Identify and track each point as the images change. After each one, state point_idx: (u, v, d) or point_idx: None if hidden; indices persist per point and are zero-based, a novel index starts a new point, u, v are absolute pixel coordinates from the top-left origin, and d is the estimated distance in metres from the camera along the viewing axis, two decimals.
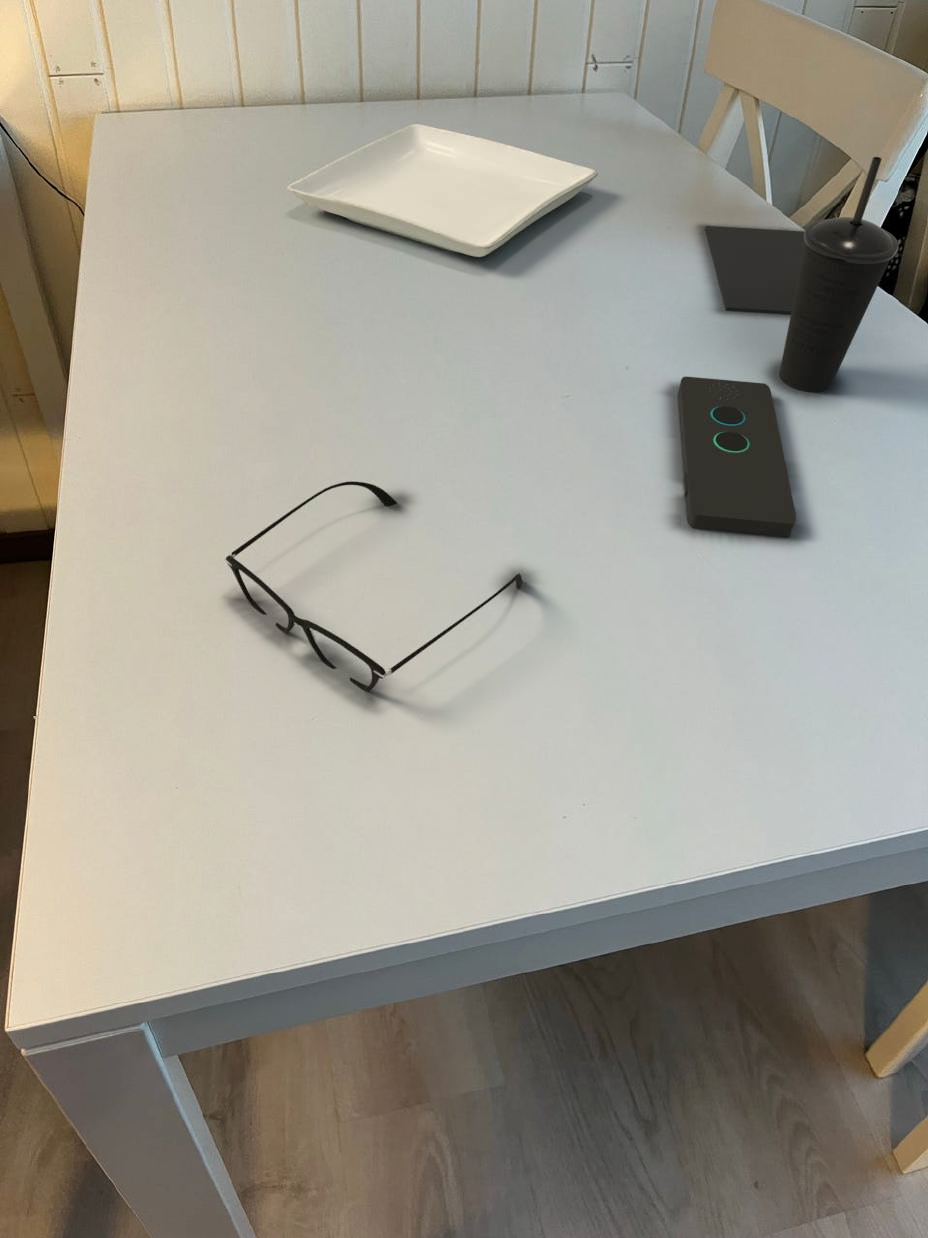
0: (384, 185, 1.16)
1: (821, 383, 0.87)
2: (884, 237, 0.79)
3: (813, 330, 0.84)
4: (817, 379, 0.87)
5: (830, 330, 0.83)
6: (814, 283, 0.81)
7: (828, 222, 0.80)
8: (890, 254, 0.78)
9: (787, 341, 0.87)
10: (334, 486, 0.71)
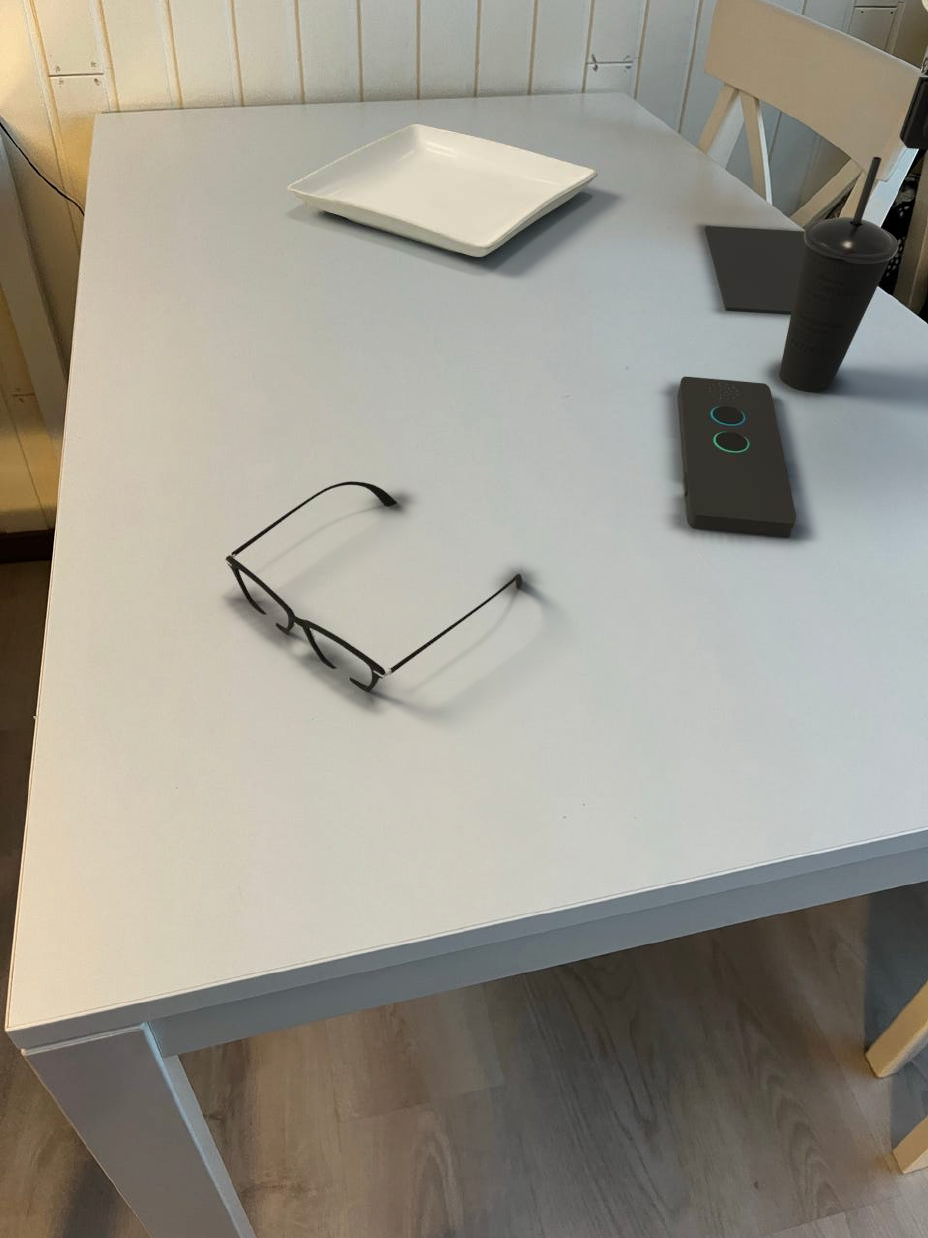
0: (384, 185, 1.16)
1: (821, 383, 0.87)
2: (884, 237, 0.79)
3: (813, 330, 0.84)
4: (817, 379, 0.87)
5: (830, 330, 0.83)
6: (814, 283, 0.81)
7: (828, 222, 0.80)
8: (890, 254, 0.78)
9: (787, 341, 0.87)
10: (334, 486, 0.71)
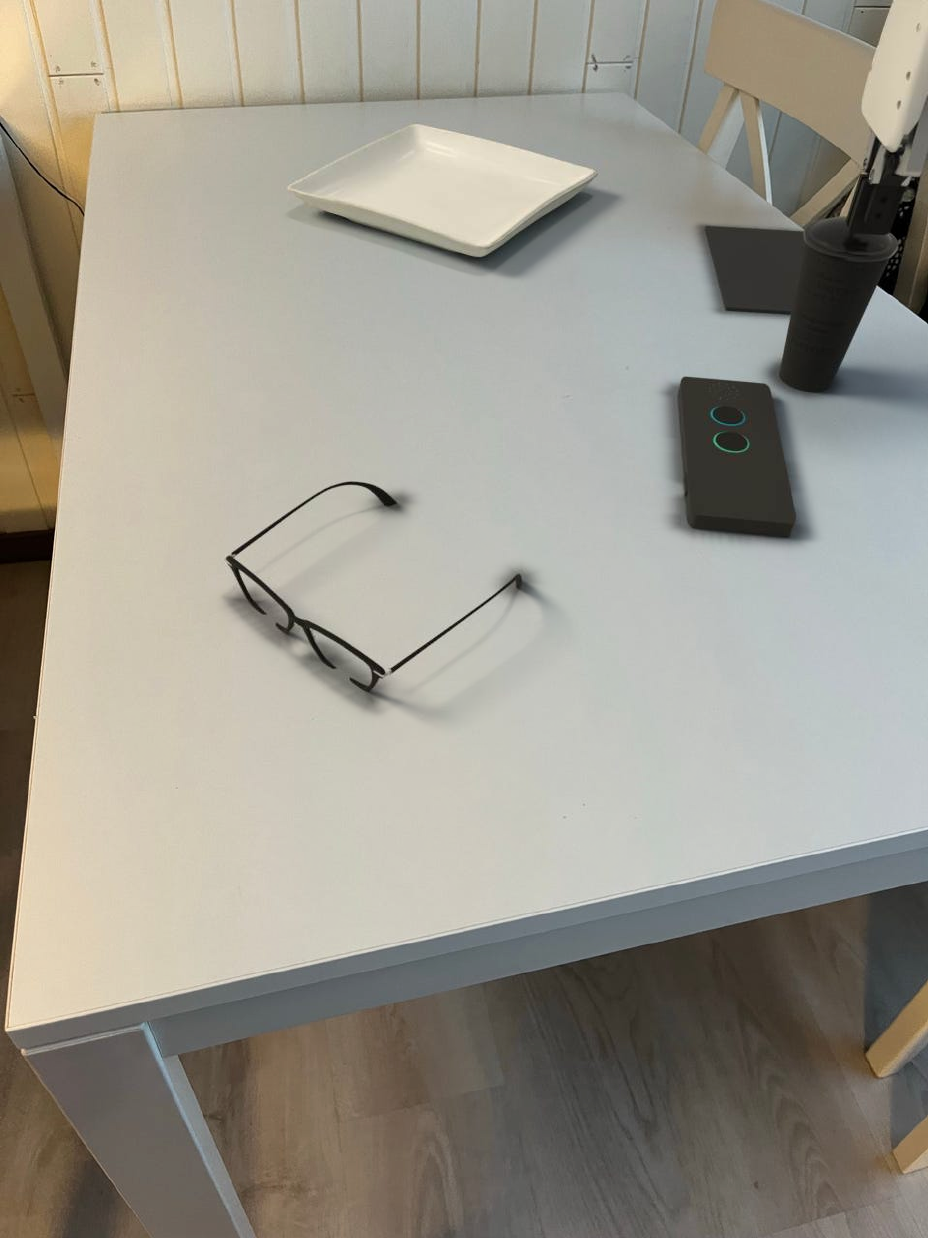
0: (384, 185, 1.16)
1: (821, 382, 0.87)
2: (884, 235, 0.79)
3: (812, 329, 0.84)
4: (818, 378, 0.87)
5: (830, 329, 0.83)
6: (813, 282, 0.81)
7: (827, 221, 0.80)
8: (890, 252, 0.78)
9: (787, 340, 0.87)
10: (334, 486, 0.71)
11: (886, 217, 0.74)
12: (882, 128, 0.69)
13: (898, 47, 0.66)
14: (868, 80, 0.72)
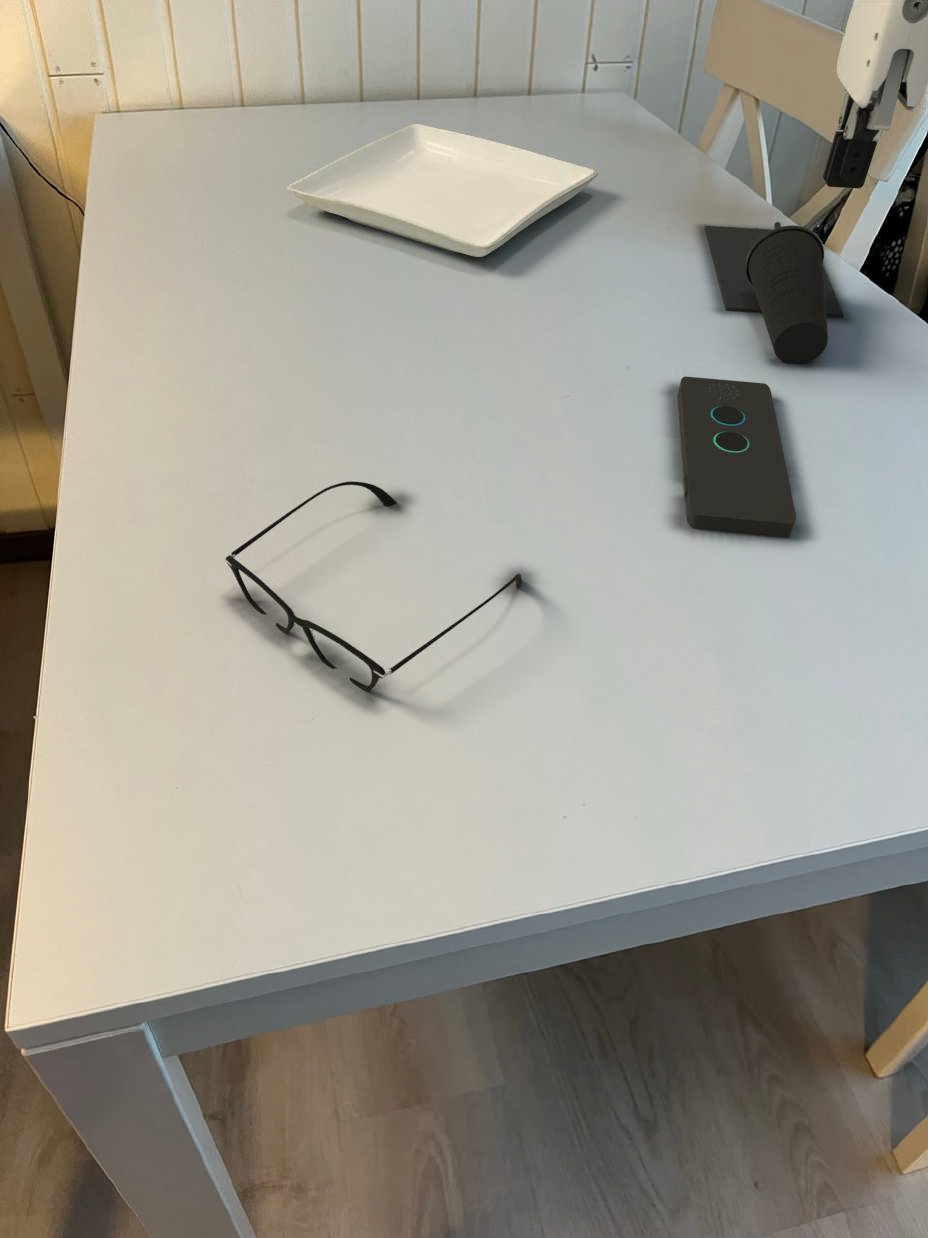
0: (384, 185, 1.16)
1: (808, 314, 0.88)
2: None
3: (776, 284, 0.92)
4: (802, 310, 0.88)
5: (790, 274, 0.91)
6: (761, 265, 0.95)
7: None
8: (811, 230, 0.95)
9: (766, 320, 0.92)
10: (334, 486, 0.71)
11: (859, 171, 0.81)
12: (854, 86, 0.76)
13: (867, 11, 0.73)
14: (842, 44, 0.79)
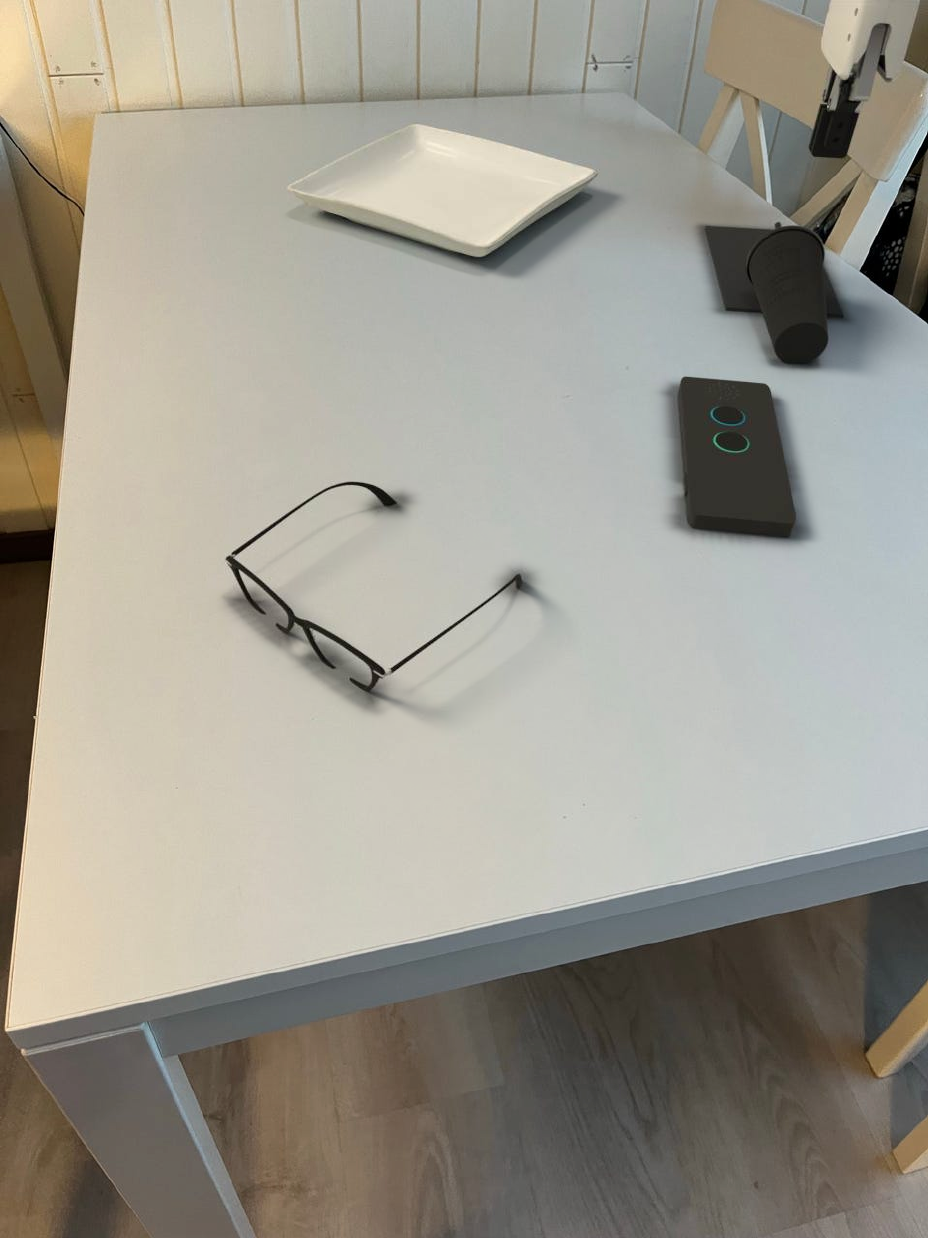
0: (384, 185, 1.16)
1: (808, 314, 0.88)
2: None
3: (777, 284, 0.92)
4: (803, 310, 0.88)
5: (791, 274, 0.91)
6: (762, 265, 0.95)
7: None
8: None
9: (766, 320, 0.92)
10: (334, 486, 0.71)
11: (842, 141, 0.86)
12: (836, 59, 0.81)
13: None
14: (826, 21, 0.84)
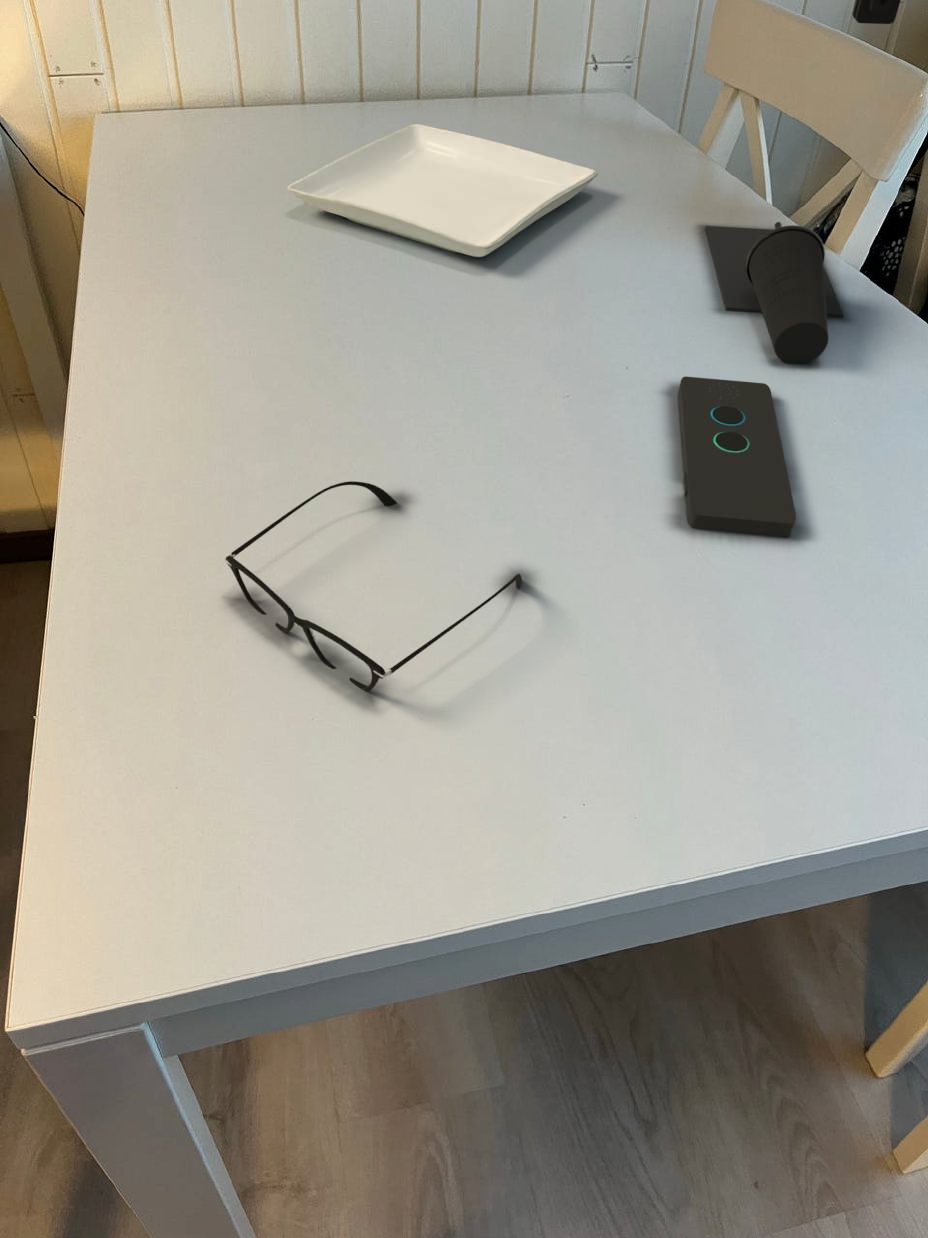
0: (384, 185, 1.16)
1: (808, 314, 0.88)
2: None
3: (777, 284, 0.92)
4: (803, 310, 0.88)
5: (791, 274, 0.91)
6: (762, 265, 0.95)
7: None
8: None
9: (766, 320, 0.92)
10: (334, 486, 0.71)
11: (891, 2, 0.79)
12: None
13: None
14: None
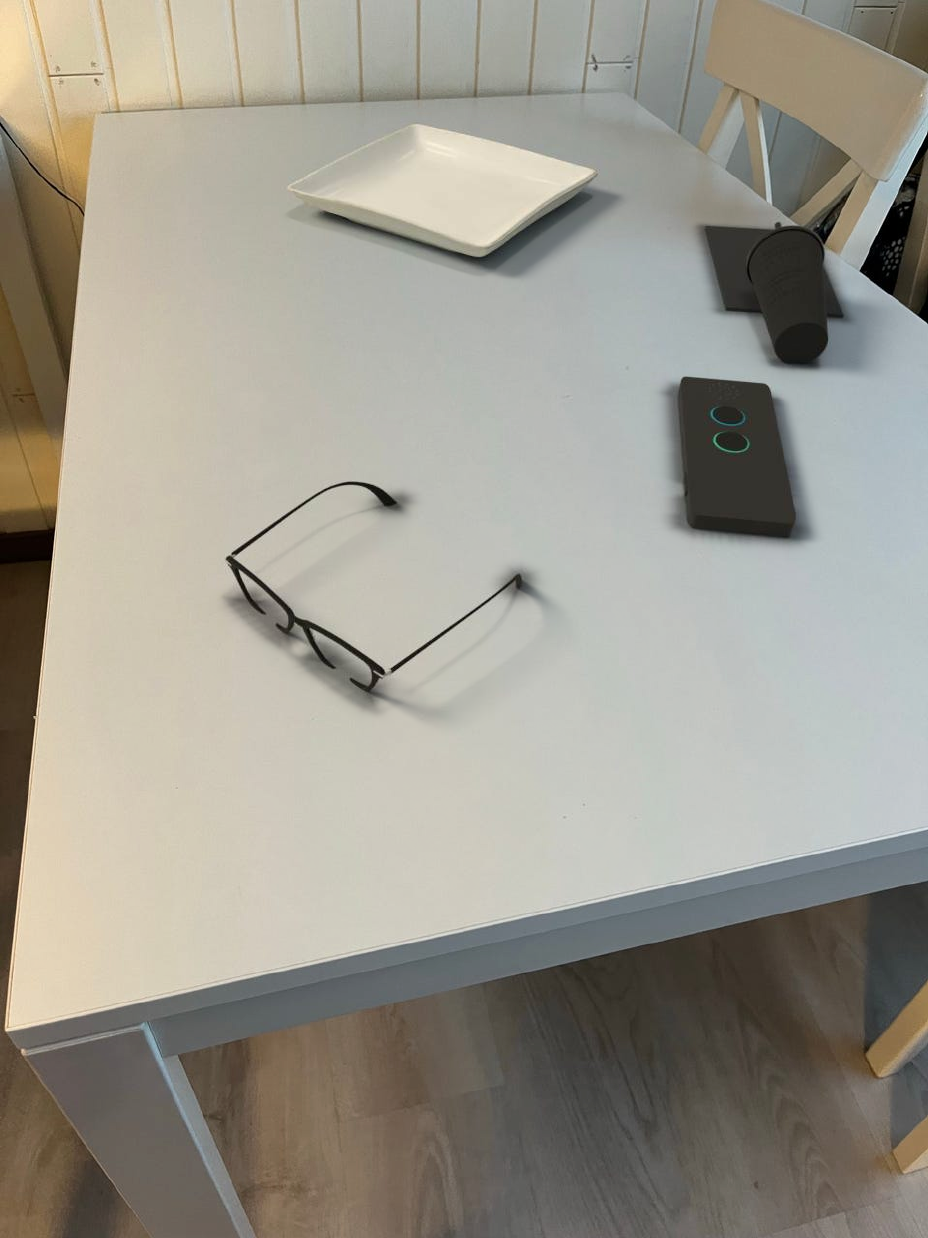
0: (384, 185, 1.16)
1: (808, 314, 0.88)
2: None
3: (777, 284, 0.92)
4: (803, 310, 0.88)
5: (791, 274, 0.91)
6: (762, 265, 0.95)
7: None
8: None
9: (766, 320, 0.92)
10: (334, 486, 0.71)
11: None
12: None
13: None
14: None
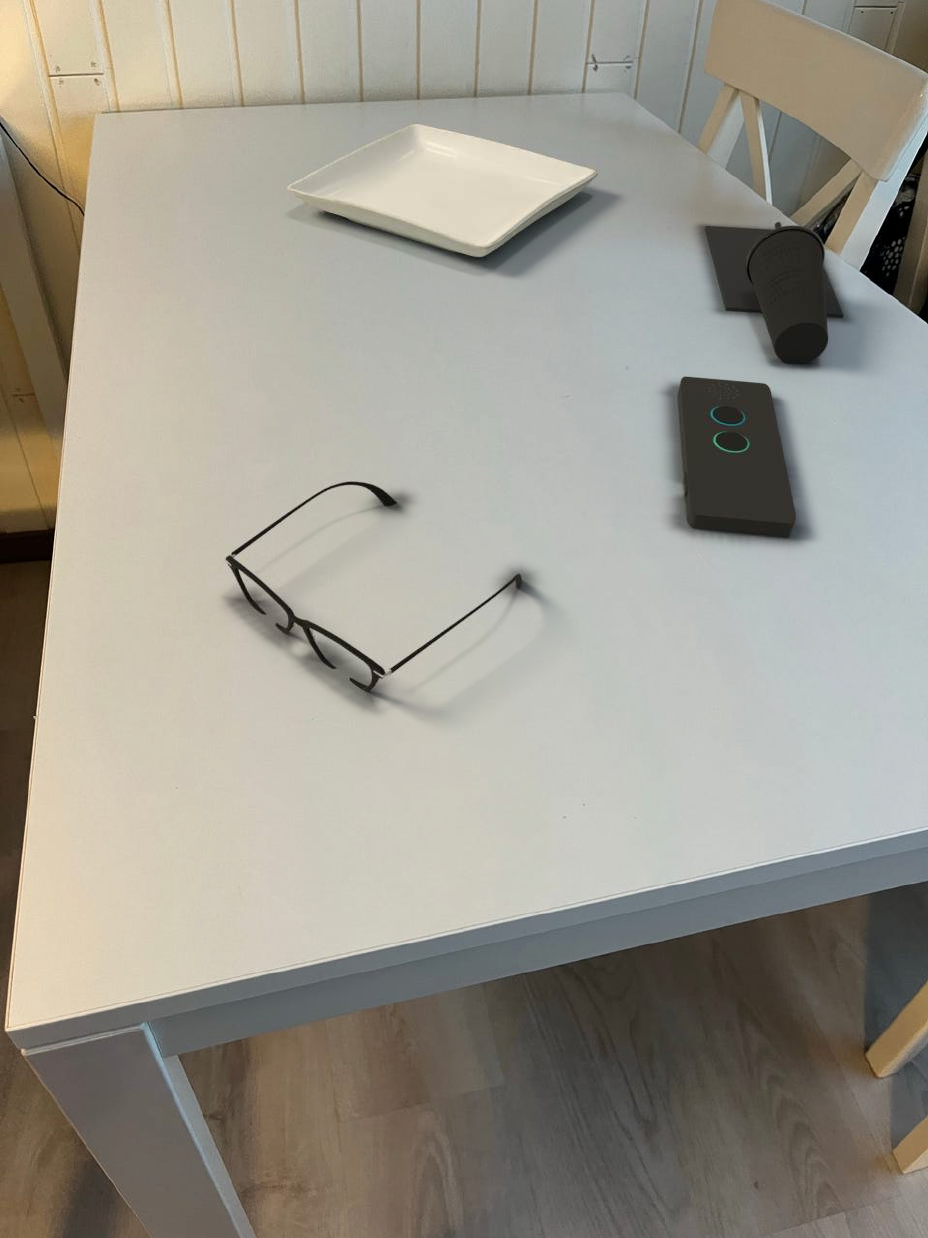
0: (384, 185, 1.16)
1: (808, 314, 0.88)
2: None
3: (777, 284, 0.92)
4: (803, 310, 0.88)
5: (791, 274, 0.91)
6: (762, 265, 0.95)
7: None
8: None
9: (766, 320, 0.92)
10: (334, 486, 0.71)
11: None
12: None
13: None
14: None
